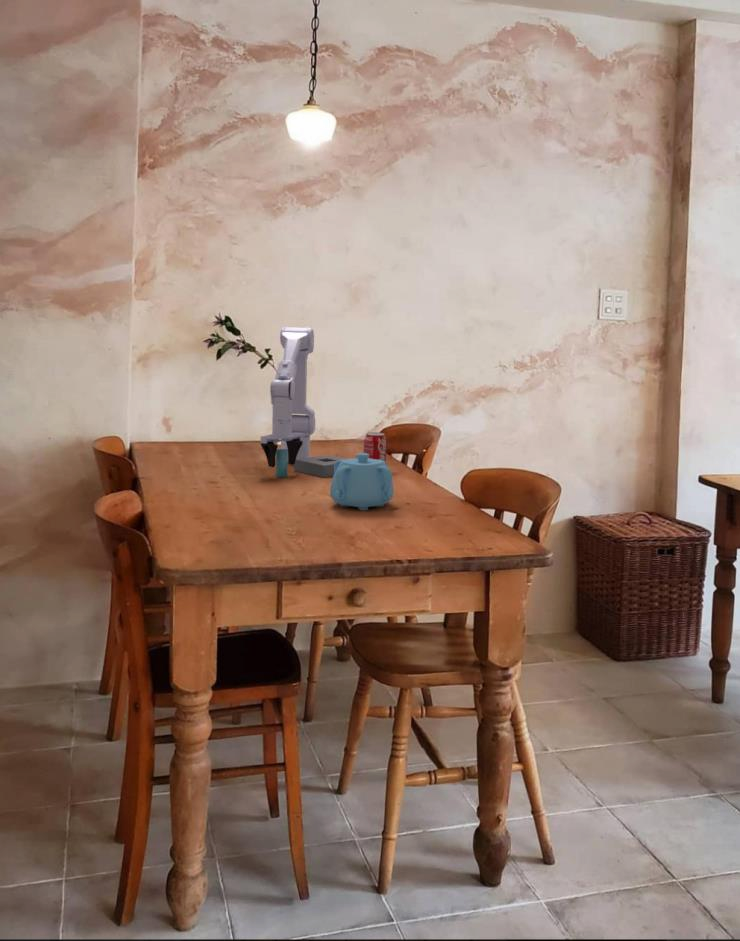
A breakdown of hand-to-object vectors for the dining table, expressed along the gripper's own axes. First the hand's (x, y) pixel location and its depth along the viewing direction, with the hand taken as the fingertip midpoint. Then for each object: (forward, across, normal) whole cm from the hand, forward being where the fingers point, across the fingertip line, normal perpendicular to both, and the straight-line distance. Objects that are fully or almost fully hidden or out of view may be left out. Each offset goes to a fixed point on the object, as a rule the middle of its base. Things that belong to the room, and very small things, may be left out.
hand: (281, 465), depth 276 cm
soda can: (+3, +28, -11) cm, 30 cm away
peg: (+3, 0, 0) cm, 3 cm away
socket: (+3, +16, -2) cm, 16 cm away
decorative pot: (+4, -9, -44) cm, 45 cm away
